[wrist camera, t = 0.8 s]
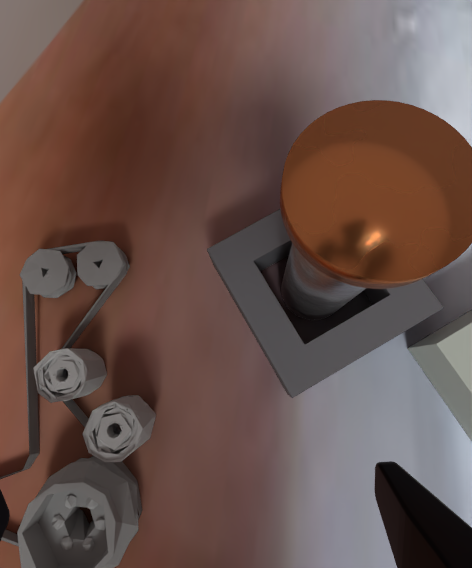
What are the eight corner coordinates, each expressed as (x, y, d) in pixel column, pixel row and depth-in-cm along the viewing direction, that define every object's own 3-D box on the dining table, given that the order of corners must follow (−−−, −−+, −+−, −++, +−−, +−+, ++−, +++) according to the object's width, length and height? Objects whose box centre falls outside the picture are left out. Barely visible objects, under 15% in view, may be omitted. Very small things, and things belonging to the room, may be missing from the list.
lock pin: (374, 305, 22) (532, 215, 9) (298, 349, 21) (355, 319, 9) (325, 234, 23) (404, 71, 11) (252, 274, 23) (246, 155, 10)
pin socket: (419, 316, 21) (444, 307, 18) (287, 394, 21) (292, 398, 18) (333, 197, 24) (344, 173, 21) (213, 264, 23) (206, 249, 20)
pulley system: (256, 330, 23) (76, 221, 25) (259, 325, 18) (36, 192, 20) (4, 758, 19) (-188, 591, 21) (-74, 890, 14) (-312, 661, 16)
